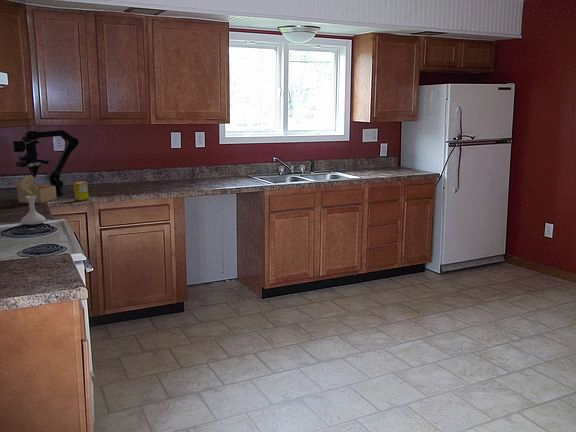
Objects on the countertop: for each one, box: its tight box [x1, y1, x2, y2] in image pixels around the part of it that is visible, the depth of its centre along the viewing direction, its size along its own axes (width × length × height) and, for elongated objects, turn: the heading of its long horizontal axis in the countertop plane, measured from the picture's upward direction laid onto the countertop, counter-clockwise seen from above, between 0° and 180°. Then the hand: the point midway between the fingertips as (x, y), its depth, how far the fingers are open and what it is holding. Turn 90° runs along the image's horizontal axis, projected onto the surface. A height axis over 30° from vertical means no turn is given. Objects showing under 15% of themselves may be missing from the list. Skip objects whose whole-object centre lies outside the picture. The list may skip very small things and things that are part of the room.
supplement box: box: [73, 181, 90, 202], centre depth 338 cm, size 6×6×11 cm
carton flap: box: [11, 179, 38, 190], centre depth 327 cm, size 7×14×1 cm
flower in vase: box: [20, 174, 46, 226], centre depth 276 cm, size 13×11×25 cm
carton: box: [16, 184, 58, 205], centre depth 338 cm, size 15×16×8 cm
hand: (34, 177), depth 344 cm, fingers closed
